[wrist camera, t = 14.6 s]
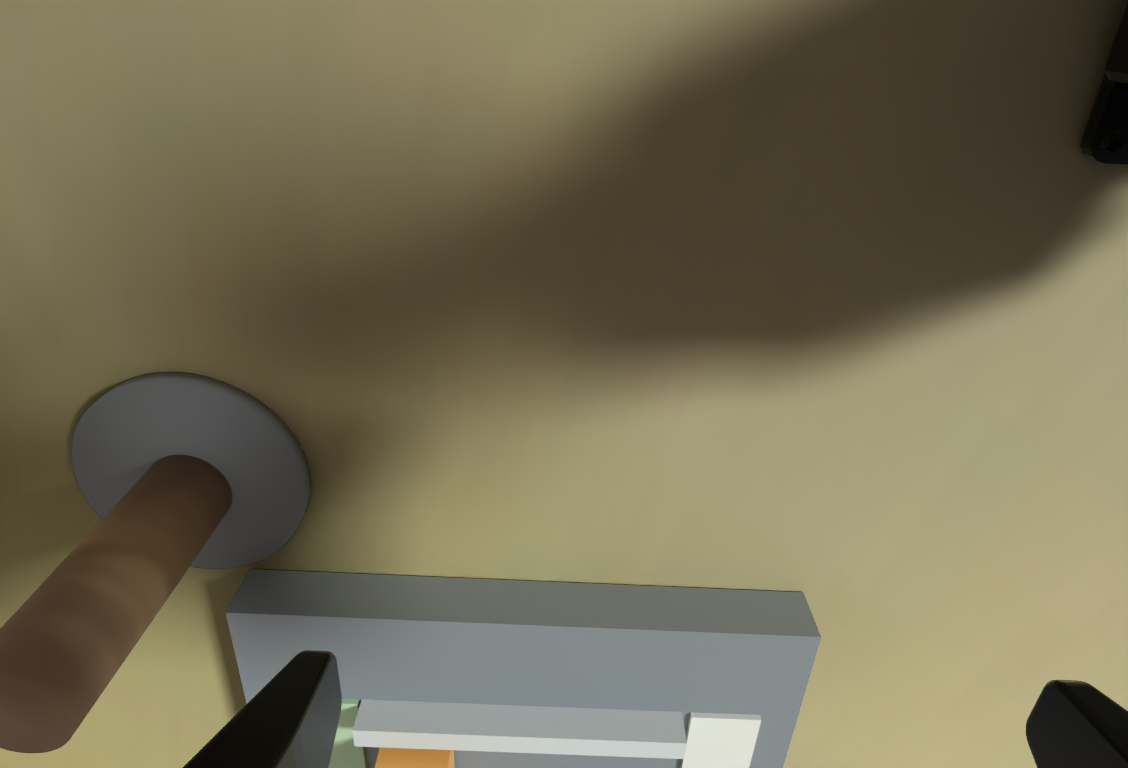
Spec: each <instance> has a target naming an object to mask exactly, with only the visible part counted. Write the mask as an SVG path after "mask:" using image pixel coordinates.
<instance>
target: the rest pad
mask: <svg viewBox="0 0 1128 768" xmlns="http://www.w3.org/2000/svg"><path fill="white" fill-rule="evenodd" d="M71 454H72V465H73V469H74V473H75V477H76V480H77V482H78V485H79V487H80V489H81V491H82V493H83V495H84V497H85V498H86V500H87V502H88V503H89V504H90V506H91V507H92V508H93V510H94V511H95V512H96V514H97V515H98V516H99V517H100V518H101V519H103V518H104V517H105V516H106V515H107V513H108V512H109V511H110V510H111V509H112V508H113V507H114V506H115V505H116V504H117V503H118V502H119V501H120V499H121V498H122V497H123V496H124V495H125V494H126V493H127V492H128V491H129V490H130V489H131V488H132V487H133V485H134V484H135V483H136V482H137V481H138V480H139V479H140V478H141V477H142V476H143V475H144V474H145V473H146V471H147V470H148V469H149V468H150V467H151V466H152V465H153V464H154V463H155V462H156V461H158V460H159V459H161V458H163V457H166V456H170V455H189V456H193V457H197V458H200V459H202V460H204V461H206V462H208V463H210V464H211V465H213V466H214V467H215V468H217V469H218V470H219V471H220V472H221V473H222V474H223V475H224V477H225V478H226V479H227V481H228V483H229V485H230V487H231V490H232V504H231V507H230V509H229V510H228V512H227V513H226V515H225V516H224V518H223V519H222V521H221V522H220V523H219V525H218V526H217V528H216V529H215V531H214V532H213V534H212V535H211V536H210V538H209V539H208V541H207V542H206V544H205V545H204V547H203V548H202V549H201V551H200V552H199V554H198V555H197V557H196V558H195V559H194V561H193V562H192V564H191V565H190V566H191V567H196V568H207V569H226V568H234V567H240V566H245V565H249V564H252V563H255V562H257V561H260V560H262V559H264V558H266V557H268V556H270V555H272V554H273V553H275V552H276V551H278V550H279V549H280V548H282V547H283V546H284V545H285V544H286V543H287V542H288V541H289V539H290V538H291V537H292V535H293V534H294V532H295V531H296V529H297V527H298V525H299V524H300V522H301V520H302V518H303V516H304V514H305V511H306V509H307V506H308V502H309V499H310V489H311V485H310V474H309V469H308V465H307V462H306V459H305V456H304V454H303V451H302V449H301V447H300V446H299V444H298V442H297V440H296V438H295V437H294V436H293V434H292V433H291V431H290V430H289V429H288V427H287V426H286V425H285V424H284V423H283V422H282V421H281V420H280V418H279V417H278V416H277V415H275V414H274V413H273V412H272V411H271V410H270V409H269V408H268V407H266V406H265V405H264V404H262V403H261V402H260V401H258V400H257V399H255V398H254V397H252V396H251V395H249V394H247V393H245V392H244V391H242V390H240V389H238V388H236V387H234V386H231V385H229V384H227V383H225V382H222V381H219V380H216V379H213V378H210V377H206V376H201V375H196V374H191V373H182V372H158V373H151V374H145V375H141V376H138V377H134V378H131V379H129V380H126V381H124V382H122V383H120V384H118V385H117V386H115V387H114V388H112V389H110V390H109V391H108V392H107V393H105V394H104V395H103V396H102V397H101V398H99V399H98V400H97V401H96V402H95V403H94V404H93V405H92V406H90V407H89V408H88V409H87V411H86V412H85V413H84V415H83V416H82V417H81V419H80V421H79V423H78V425H77V427H76V429H75V433H74V437H73V440H72V451H71Z"/></svg>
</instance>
